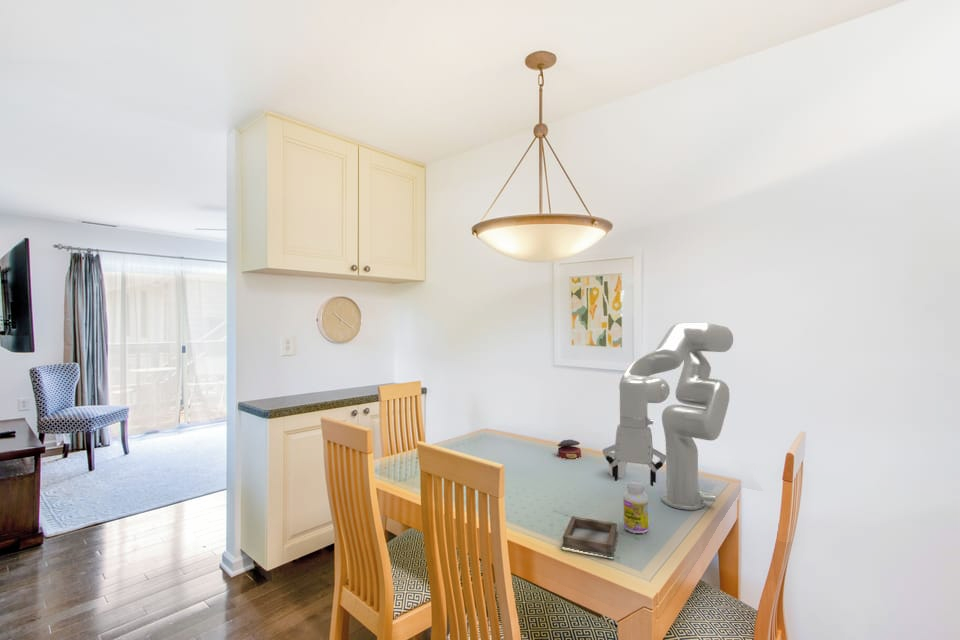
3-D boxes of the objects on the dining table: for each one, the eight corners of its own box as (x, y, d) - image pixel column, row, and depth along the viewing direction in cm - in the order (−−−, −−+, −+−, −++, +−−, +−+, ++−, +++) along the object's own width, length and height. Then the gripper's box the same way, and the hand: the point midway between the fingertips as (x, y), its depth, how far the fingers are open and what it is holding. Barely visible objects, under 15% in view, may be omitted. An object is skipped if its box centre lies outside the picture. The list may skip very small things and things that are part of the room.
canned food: (559, 468, 190) (548, 447, 192) (569, 459, 198) (558, 439, 200) (580, 460, 183) (568, 438, 185) (589, 451, 191) (578, 431, 193)
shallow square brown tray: (618, 535, 122) (618, 522, 122) (613, 560, 110) (613, 546, 110) (571, 527, 127) (570, 515, 127) (561, 550, 115) (561, 536, 115)
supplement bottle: (619, 529, 125) (618, 485, 125) (630, 521, 130) (629, 478, 130) (642, 537, 120) (641, 491, 120) (652, 528, 125) (651, 484, 125)
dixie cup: (625, 480, 161) (625, 453, 161) (603, 476, 166) (603, 450, 166) (631, 473, 168) (631, 447, 168) (610, 469, 173) (609, 444, 173)
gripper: (666, 422, 125) (666, 481, 125) (604, 417, 131) (604, 473, 131) (666, 427, 118) (666, 491, 118) (600, 422, 125) (601, 482, 124)
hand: (633, 482), depth 124 cm, fingers open, 9 cm apart
